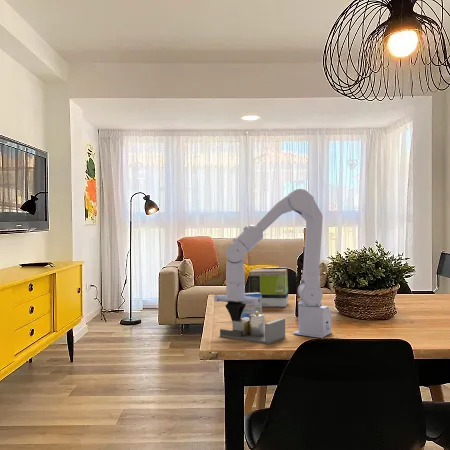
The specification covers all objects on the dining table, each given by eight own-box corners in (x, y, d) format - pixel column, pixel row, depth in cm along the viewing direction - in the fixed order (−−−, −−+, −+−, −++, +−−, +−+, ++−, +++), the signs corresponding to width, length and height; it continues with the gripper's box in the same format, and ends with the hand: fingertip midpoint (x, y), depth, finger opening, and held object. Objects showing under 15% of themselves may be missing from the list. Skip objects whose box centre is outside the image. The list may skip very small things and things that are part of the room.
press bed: (285, 337, 137) (285, 318, 137) (269, 344, 130) (269, 324, 130) (236, 330, 148) (236, 312, 148) (219, 336, 140) (219, 317, 140)
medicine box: (241, 318, 166) (241, 294, 166) (238, 316, 170) (237, 292, 170) (262, 317, 168) (262, 293, 168) (258, 315, 172) (257, 291, 172)
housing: (265, 333, 140) (265, 310, 140) (263, 337, 135) (263, 313, 135) (250, 333, 141) (250, 310, 141) (248, 337, 136) (248, 313, 136)
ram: (256, 331, 142) (256, 318, 142) (243, 336, 136) (243, 322, 136) (245, 329, 144) (245, 316, 144) (232, 334, 139) (232, 320, 139)
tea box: (288, 303, 196) (287, 268, 196) (285, 307, 187) (285, 271, 187) (253, 302, 200) (253, 268, 200) (249, 306, 190) (248, 270, 190)
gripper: (262, 282, 142) (263, 326, 142) (222, 279, 149) (222, 321, 149) (251, 284, 136) (252, 331, 136) (210, 282, 143) (210, 326, 143)
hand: (236, 326), depth 142 cm, fingers closed
